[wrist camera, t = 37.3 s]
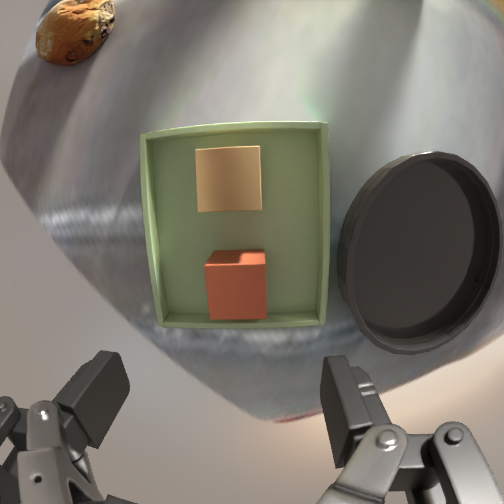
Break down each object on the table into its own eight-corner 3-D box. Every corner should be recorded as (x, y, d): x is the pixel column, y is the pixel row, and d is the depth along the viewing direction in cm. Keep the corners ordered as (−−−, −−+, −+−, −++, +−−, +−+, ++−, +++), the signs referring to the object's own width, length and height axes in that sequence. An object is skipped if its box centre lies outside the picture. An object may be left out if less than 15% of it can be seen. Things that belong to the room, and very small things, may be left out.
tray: (321, 127, 21) (327, 122, 19) (320, 314, 26) (325, 325, 23) (149, 137, 22) (139, 133, 20) (166, 316, 26) (158, 327, 24)
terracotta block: (264, 248, 24) (265, 263, 19) (265, 296, 25) (266, 319, 20) (213, 250, 24) (203, 265, 20) (217, 297, 25) (209, 320, 21)
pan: (489, 166, 21) (506, 167, 18) (468, 326, 26) (481, 337, 23) (336, 144, 22) (347, 139, 19) (329, 350, 27) (335, 367, 24)
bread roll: (110, 9, 20) (72, -18, 13) (140, 10, 17) (92, -28, 10) (62, 67, 22) (20, 46, 15) (78, 82, 19) (22, 54, 12)
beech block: (259, 152, 22) (259, 145, 17) (261, 205, 23) (261, 210, 18) (206, 155, 22) (194, 149, 18) (208, 207, 23) (197, 212, 19)
